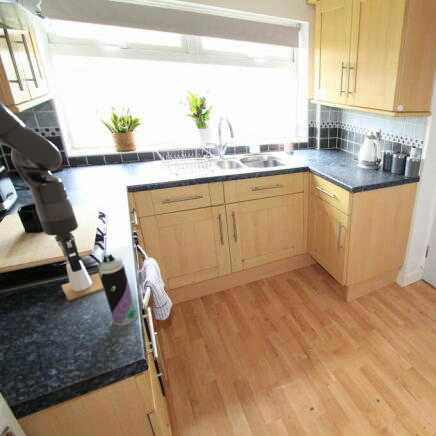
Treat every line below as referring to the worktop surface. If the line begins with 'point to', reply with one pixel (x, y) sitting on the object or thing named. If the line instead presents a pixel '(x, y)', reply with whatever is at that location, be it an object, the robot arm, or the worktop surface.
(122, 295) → the spray can
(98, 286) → the cork mat
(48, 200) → the robot arm
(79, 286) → the pepper shaker
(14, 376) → the worktop surface
